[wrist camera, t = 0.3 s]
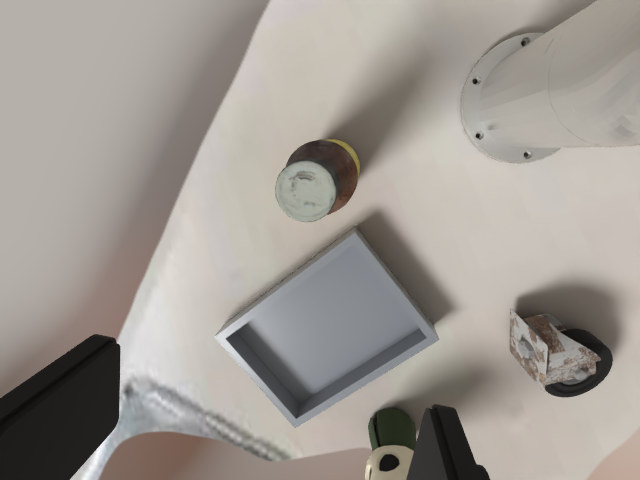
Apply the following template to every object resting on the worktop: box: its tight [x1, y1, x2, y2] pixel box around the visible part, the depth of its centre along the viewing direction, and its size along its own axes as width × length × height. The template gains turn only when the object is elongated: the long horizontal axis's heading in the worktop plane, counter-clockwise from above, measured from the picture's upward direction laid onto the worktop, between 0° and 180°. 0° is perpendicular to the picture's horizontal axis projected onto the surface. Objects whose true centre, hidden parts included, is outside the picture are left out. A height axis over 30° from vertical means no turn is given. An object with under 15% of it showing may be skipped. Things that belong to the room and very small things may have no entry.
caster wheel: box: [510, 309, 613, 397], centre depth 42 cm, size 7×11×10 cm
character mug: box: [365, 408, 416, 480], centre depth 43 cm, size 11×7×13 cm, turn 141°
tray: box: [215, 226, 439, 428], centre depth 45 cm, size 22×16×4 cm
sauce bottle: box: [275, 139, 360, 222], centre depth 32 cm, size 7×6×20 cm
